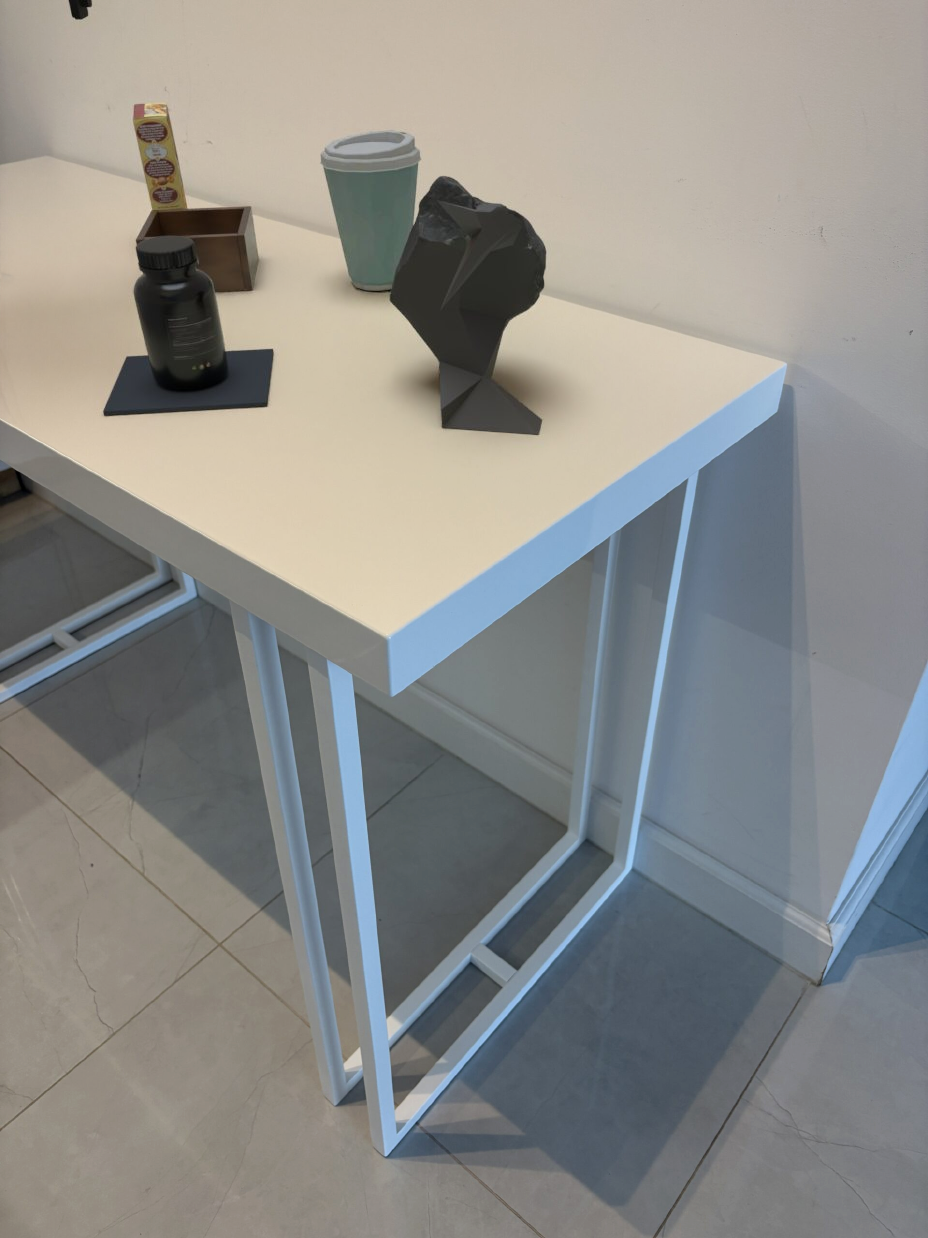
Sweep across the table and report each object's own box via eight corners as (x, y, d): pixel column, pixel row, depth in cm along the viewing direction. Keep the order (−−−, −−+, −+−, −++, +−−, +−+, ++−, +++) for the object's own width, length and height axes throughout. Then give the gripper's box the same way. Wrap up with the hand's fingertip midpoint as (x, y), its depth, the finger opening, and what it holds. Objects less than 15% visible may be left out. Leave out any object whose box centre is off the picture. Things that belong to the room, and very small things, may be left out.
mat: (103, 415, 81) (102, 411, 81) (127, 360, 90) (126, 355, 90) (267, 406, 82) (266, 401, 82) (273, 352, 91) (273, 348, 91)
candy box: (195, 252, 116) (169, 114, 107) (159, 255, 115) (131, 116, 106) (192, 232, 123) (168, 100, 113) (159, 235, 122) (132, 102, 112)
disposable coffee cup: (358, 304, 101) (346, 153, 92) (315, 277, 108) (300, 134, 99) (442, 285, 106) (438, 139, 96) (395, 260, 113) (388, 122, 103)
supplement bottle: (142, 374, 87) (111, 240, 79) (211, 356, 90) (187, 225, 82) (170, 400, 82) (139, 261, 75) (242, 380, 85) (219, 245, 78)
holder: (147, 294, 104) (135, 239, 101) (162, 261, 113) (151, 209, 110) (252, 290, 105) (244, 234, 102) (258, 257, 114) (251, 205, 111)
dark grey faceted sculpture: (556, 360, 89) (567, 154, 78) (538, 434, 77) (549, 204, 66) (410, 351, 91) (400, 149, 80) (371, 422, 79) (354, 196, 68)
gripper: (-182, -259, 67) (-96, 22, 78) (66, -253, 68) (117, 23, 79) (-139, -249, 73) (-64, 11, 84) (88, -243, 74) (133, 12, 85)
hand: (24, 17), depth 81 cm, fingers open, 9 cm apart
